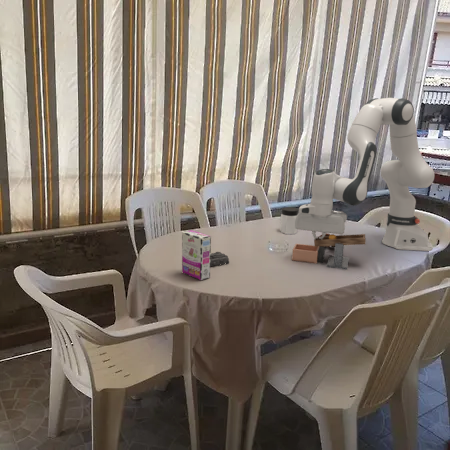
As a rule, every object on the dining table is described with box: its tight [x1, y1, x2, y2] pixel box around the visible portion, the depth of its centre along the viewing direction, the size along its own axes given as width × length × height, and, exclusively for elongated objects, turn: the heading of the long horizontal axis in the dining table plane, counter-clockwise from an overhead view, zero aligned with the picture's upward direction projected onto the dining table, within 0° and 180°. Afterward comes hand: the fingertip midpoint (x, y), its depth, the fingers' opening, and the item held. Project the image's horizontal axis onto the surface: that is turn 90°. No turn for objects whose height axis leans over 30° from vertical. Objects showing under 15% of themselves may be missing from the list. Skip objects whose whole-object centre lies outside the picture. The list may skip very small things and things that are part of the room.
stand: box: [317, 243, 350, 270], centre depth 191 cm, size 12×13×10 cm
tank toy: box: [210, 251, 230, 267], centre depth 188 cm, size 12×10×5 cm
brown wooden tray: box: [313, 233, 367, 247], centre depth 190 cm, size 20×9×3 cm, turn 73°
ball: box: [329, 233, 337, 239], centre depth 190 cm, size 3×3×3 cm
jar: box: [279, 206, 299, 235], centre depth 233 cm, size 9×8×12 cm
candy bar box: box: [181, 229, 212, 281], centre depth 173 cm, size 11×5×16 cm, turn 45°
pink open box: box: [291, 243, 319, 264], centre depth 195 cm, size 10×8×5 cm
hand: (318, 241), depth 192 cm, fingers closed
